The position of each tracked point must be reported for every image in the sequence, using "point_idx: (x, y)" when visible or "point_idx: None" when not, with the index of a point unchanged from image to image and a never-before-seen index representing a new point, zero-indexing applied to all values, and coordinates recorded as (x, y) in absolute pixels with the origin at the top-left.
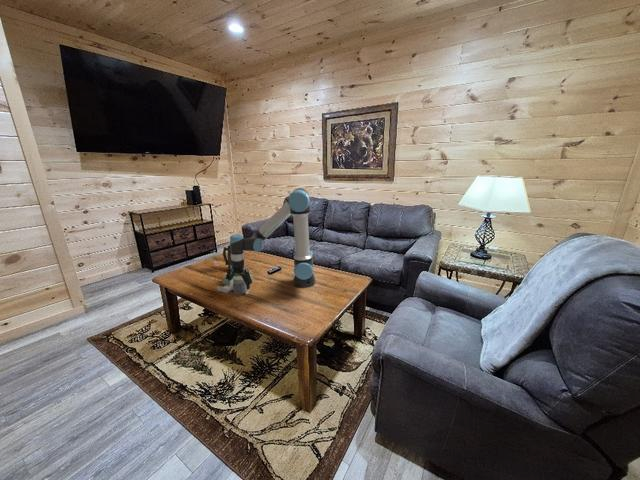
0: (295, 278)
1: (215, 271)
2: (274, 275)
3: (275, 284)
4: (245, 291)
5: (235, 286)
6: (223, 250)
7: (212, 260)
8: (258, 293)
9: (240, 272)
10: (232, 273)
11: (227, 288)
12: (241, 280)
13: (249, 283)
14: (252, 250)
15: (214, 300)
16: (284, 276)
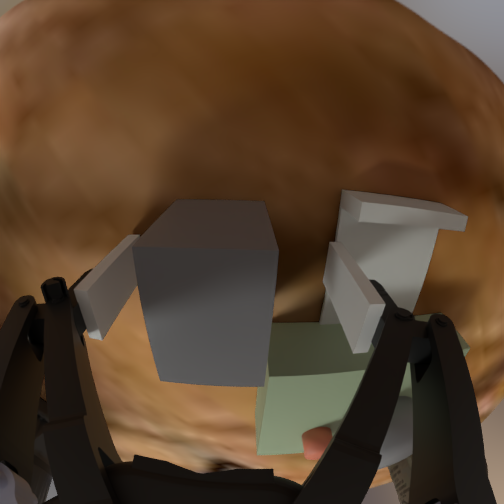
0: (41, 426)
1: (486, 374)
2: (188, 456)
3: (100, 401)
4: (125, 246)
5: (225, 233)
6: (487, 474)
7: (493, 406)
8: None
9: (58, 487)
10: (363, 441)
11: (358, 215)
12: (226, 372)
13: (19, 304)
14: None
15: (354, 29)
16: (140, 452)
